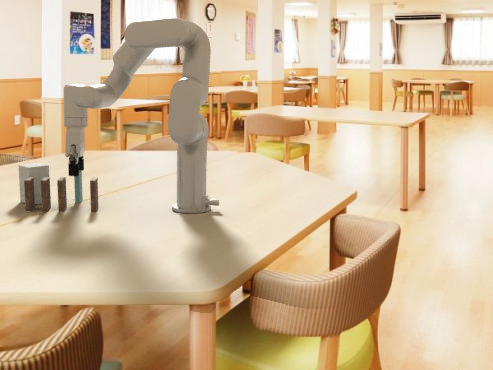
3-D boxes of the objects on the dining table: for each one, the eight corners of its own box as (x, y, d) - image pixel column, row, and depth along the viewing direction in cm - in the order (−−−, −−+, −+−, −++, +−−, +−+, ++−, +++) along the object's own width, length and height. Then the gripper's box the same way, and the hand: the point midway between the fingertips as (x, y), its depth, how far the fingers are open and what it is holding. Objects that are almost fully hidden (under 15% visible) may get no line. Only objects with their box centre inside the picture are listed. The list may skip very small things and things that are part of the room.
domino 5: (98, 207, 196) (97, 177, 194) (96, 211, 191) (95, 180, 189) (93, 207, 195) (92, 177, 193) (90, 211, 191) (90, 180, 189)
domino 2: (50, 207, 194) (49, 177, 192) (47, 211, 189) (46, 180, 187) (45, 207, 194) (44, 177, 192) (42, 211, 189) (40, 180, 187)
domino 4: (82, 199, 206) (81, 170, 204) (80, 202, 202) (79, 173, 200) (77, 199, 206) (76, 170, 204) (75, 202, 201) (74, 173, 199)
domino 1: (35, 207, 194) (33, 177, 192) (31, 211, 189) (29, 180, 187) (29, 207, 193) (28, 177, 191) (25, 211, 189) (24, 180, 187)
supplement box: (51, 202, 201) (49, 165, 199) (30, 205, 196) (28, 167, 193) (40, 198, 206) (38, 162, 204) (19, 201, 201) (17, 164, 198)
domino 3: (66, 207, 195) (65, 177, 193) (63, 211, 190) (62, 180, 188) (61, 207, 194) (60, 177, 192) (58, 211, 190) (57, 180, 188)
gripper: (69, 119, 207) (69, 168, 210) (58, 124, 190) (59, 178, 193) (91, 119, 207) (91, 168, 211) (83, 125, 191) (83, 178, 194)
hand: (76, 173), depth 202 cm, fingers open, 9 cm apart
